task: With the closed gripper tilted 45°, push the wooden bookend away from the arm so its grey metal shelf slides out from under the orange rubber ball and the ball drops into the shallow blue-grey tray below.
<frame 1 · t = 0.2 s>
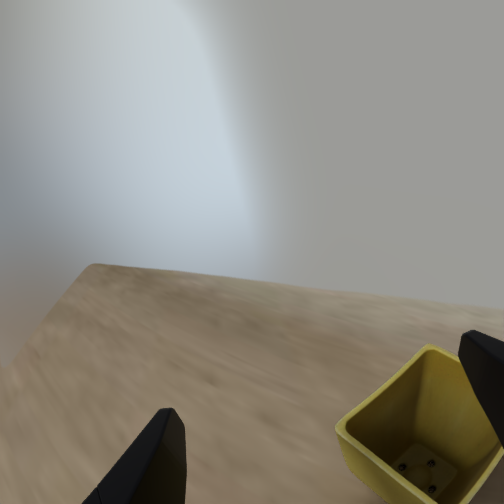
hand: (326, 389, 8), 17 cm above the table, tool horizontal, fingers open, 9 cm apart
flower pot: (417, 481, 16), on the table
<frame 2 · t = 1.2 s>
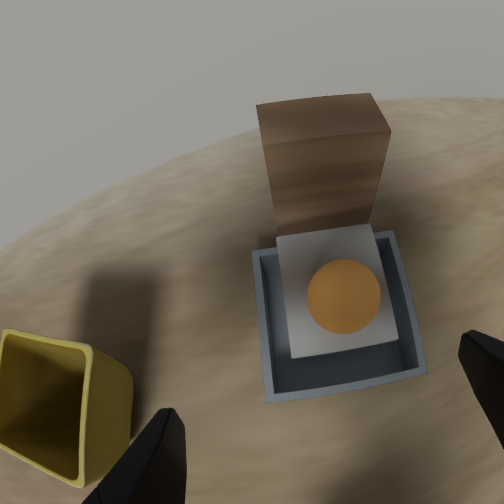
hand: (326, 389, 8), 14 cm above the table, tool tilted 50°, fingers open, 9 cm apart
ball: (343, 296, 17), point 7 cm above the table, touching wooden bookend
flower pot: (109, 409, 22), on the table
shallow blue-grey tray: (333, 325, 23), on the table
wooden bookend: (333, 249, 18), point 7 cm above the table, slide at 0.0 cm, touching ball
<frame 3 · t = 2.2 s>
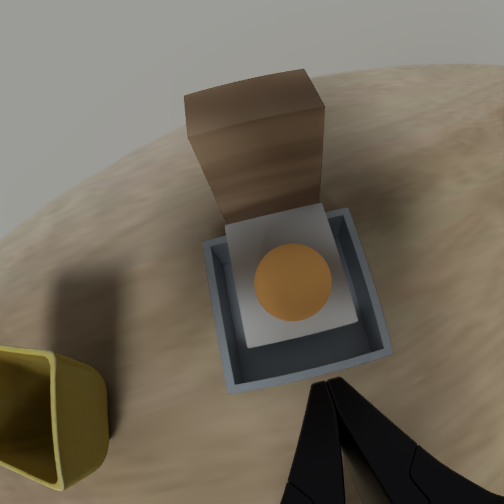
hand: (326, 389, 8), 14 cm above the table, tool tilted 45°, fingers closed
ball: (293, 282, 17), point 7 cm above the table, touching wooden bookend
flower pot: (87, 410, 22), on the table
shallow blue-grey tray: (294, 309, 23), on the table
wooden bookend: (280, 234, 18), point 7 cm above the table, slide at 0.0 cm, touching ball
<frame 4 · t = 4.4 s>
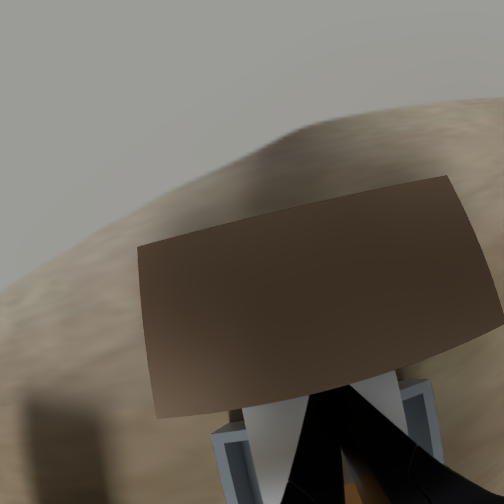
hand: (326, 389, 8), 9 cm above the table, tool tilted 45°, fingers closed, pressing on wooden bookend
shallow blue-grey tray: (334, 483, 14), on the table
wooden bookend: (334, 443, 9), point 7 cm above the table, slide at 1.3 cm, touching ball, gripper
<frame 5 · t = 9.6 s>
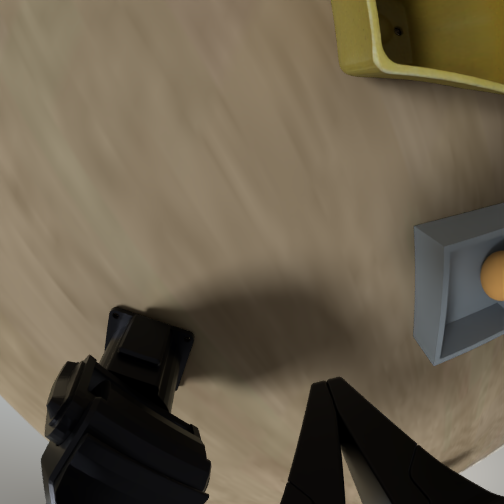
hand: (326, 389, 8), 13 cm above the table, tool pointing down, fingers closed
ball: (501, 275, 20), point 2 cm above the table, tilted 92°, touching shallow blue-grey tray, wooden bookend
flower pot: (373, 32, 16), on the table
shallow blue-grey tray: (464, 270, 22), on the table
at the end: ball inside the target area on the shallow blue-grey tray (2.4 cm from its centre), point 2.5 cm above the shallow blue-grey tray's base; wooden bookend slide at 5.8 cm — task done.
